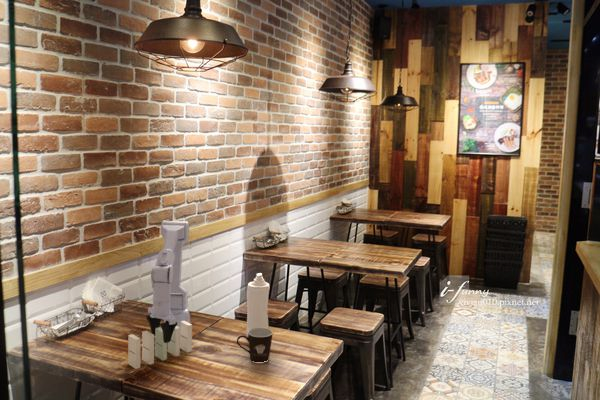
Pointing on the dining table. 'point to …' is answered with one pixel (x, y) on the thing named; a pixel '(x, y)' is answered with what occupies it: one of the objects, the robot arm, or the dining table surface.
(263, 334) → the coffee mug
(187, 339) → the domino
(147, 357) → the domino
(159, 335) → the domino
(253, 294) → the spray can
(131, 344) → the domino
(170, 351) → the domino
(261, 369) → the dining table surface
